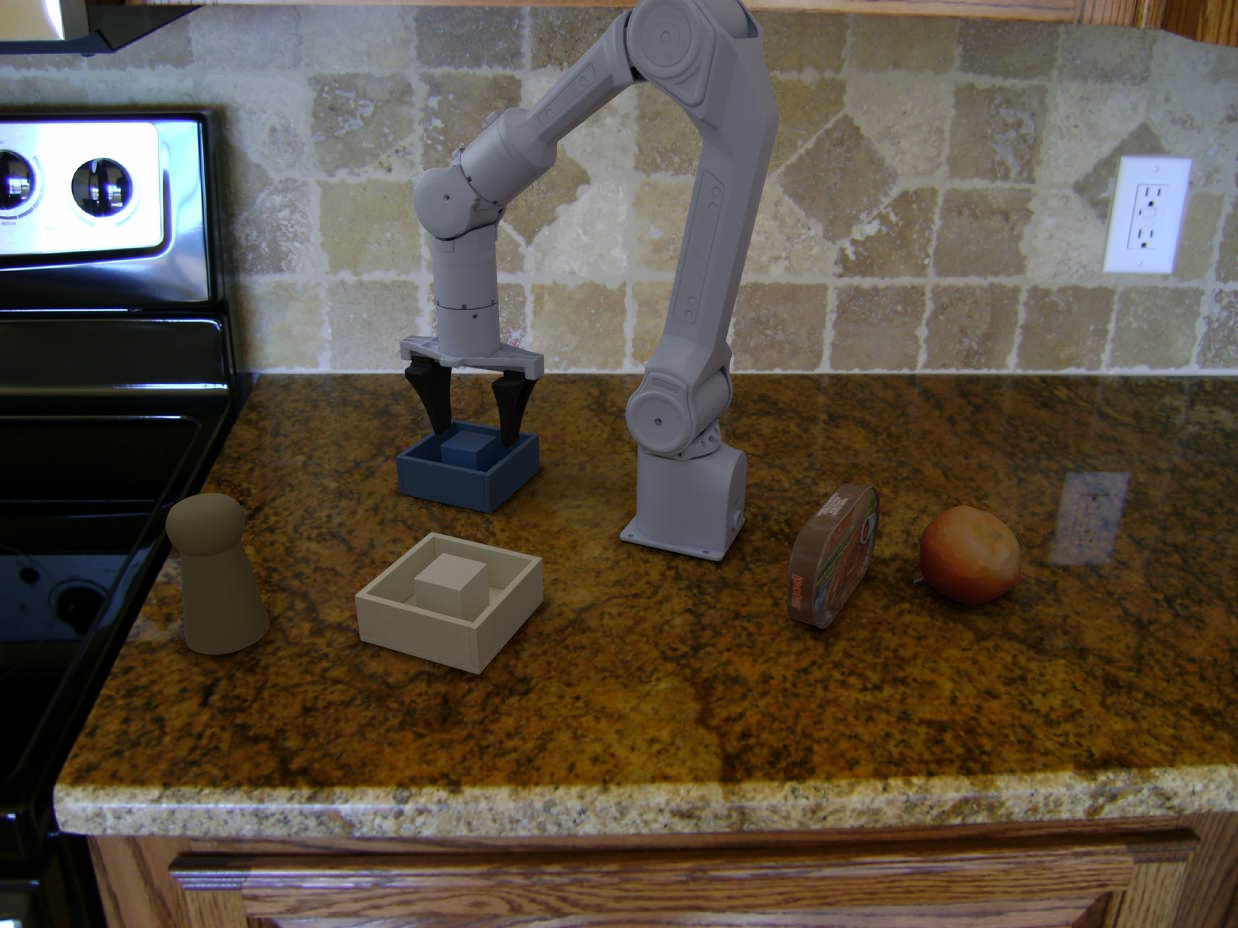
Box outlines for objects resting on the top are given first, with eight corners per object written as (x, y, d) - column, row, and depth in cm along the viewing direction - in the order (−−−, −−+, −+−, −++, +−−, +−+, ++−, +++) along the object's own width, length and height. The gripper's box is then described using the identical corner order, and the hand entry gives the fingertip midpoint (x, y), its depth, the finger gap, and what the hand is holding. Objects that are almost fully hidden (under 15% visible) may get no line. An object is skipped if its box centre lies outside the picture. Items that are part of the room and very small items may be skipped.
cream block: (490, 606, 73) (487, 563, 71) (463, 635, 70) (460, 590, 68) (446, 595, 74) (442, 552, 72) (418, 622, 71) (413, 578, 69)
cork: (242, 659, 67) (215, 527, 63) (167, 648, 68) (135, 517, 64) (285, 612, 73) (263, 487, 68) (215, 602, 74) (189, 478, 69)
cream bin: (543, 600, 75) (542, 557, 73) (479, 675, 66) (475, 628, 64) (434, 572, 78) (431, 531, 76) (360, 640, 70) (354, 595, 68)
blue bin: (540, 470, 96) (539, 434, 94) (490, 513, 87) (488, 475, 86) (454, 453, 99) (452, 418, 98) (399, 493, 91) (395, 456, 89)
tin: (812, 649, 69) (824, 552, 66) (773, 635, 71) (783, 540, 67) (877, 559, 81) (890, 472, 77) (842, 549, 82) (853, 463, 79)
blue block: (498, 472, 94) (496, 436, 92) (478, 489, 91) (476, 452, 89) (464, 465, 95) (461, 430, 94) (443, 481, 92) (440, 445, 90)
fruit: (925, 532, 82) (983, 478, 77) (989, 602, 80) (1055, 552, 74) (875, 566, 77) (934, 511, 71) (943, 642, 75) (1009, 591, 69)
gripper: (375, 303, 85) (390, 440, 91) (516, 322, 80) (522, 465, 86) (418, 285, 91) (430, 414, 96) (552, 301, 86) (556, 436, 92)
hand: (476, 436), depth 91 cm, fingers open, 7 cm apart
